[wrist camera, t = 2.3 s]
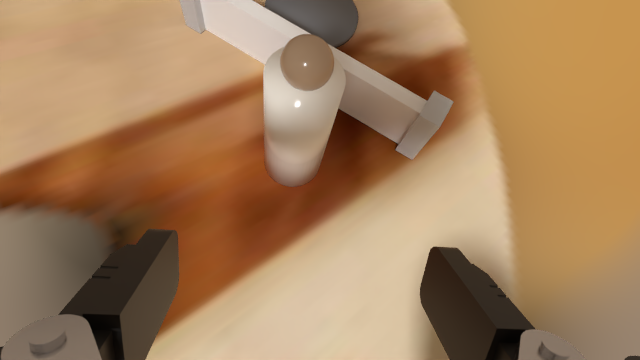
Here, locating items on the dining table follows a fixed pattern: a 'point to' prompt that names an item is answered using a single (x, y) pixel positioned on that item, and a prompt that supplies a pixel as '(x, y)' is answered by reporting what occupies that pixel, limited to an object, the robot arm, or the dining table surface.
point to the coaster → (319, 17)
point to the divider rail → (361, 81)
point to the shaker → (300, 108)
